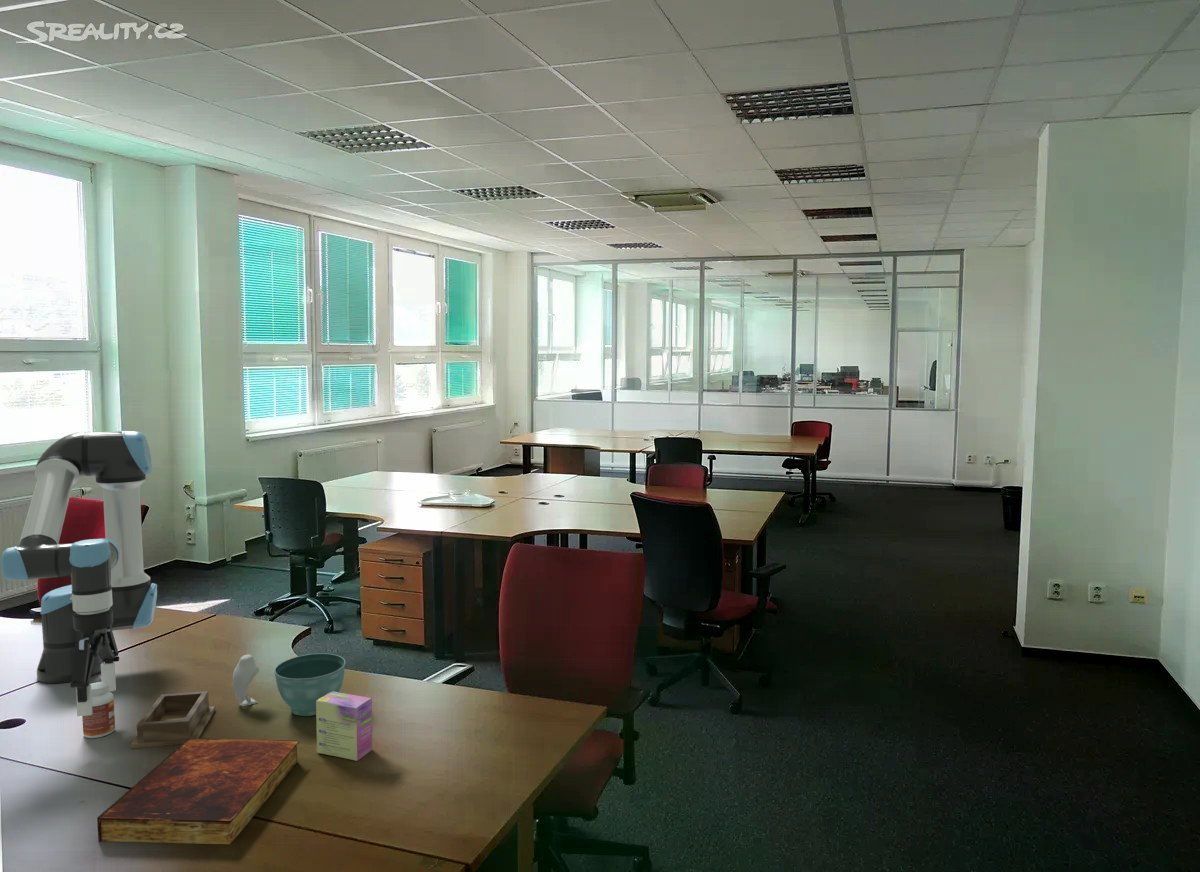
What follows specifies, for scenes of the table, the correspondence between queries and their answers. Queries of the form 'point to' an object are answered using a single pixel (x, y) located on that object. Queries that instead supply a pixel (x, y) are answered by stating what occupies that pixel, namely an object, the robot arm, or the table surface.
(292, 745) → the book
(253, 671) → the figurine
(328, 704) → the box
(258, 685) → the table surface
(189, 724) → the wooden tray
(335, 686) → the teal bowl
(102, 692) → the pill bottle
